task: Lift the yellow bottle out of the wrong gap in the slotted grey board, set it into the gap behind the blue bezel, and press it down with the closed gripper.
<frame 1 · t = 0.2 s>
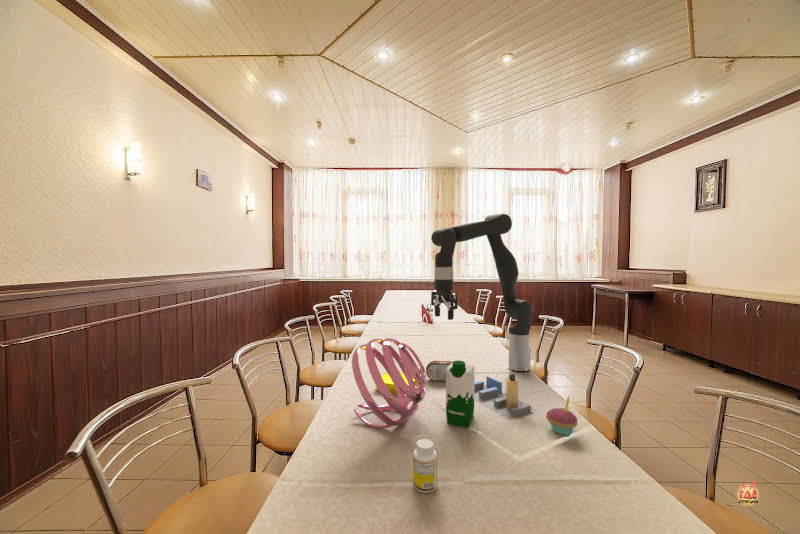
hand: (443, 317, 134), 29 cm above the table, tool pointing down, fingers open, 8 cm apart
supplement bottle: (425, 486, 77), on the table
milk carton: (460, 421, 108), on the table
cupcake: (561, 433, 100), on the table
tin: (443, 381, 143), on the table
slotted grey board: (495, 402, 121), on the table
element tile: (398, 387, 137), on the table
yellow bottle: (512, 408, 114), point 1 cm above the table, touching slotted grey board
spiral basket: (389, 420, 109), on the table
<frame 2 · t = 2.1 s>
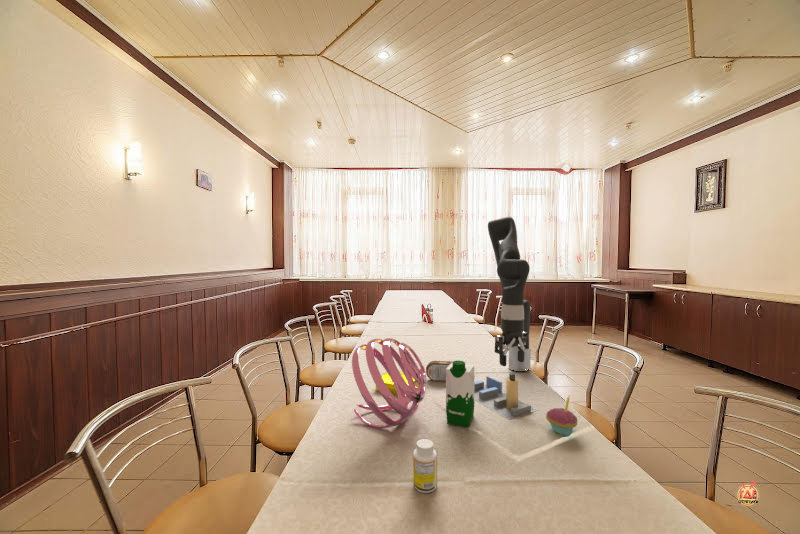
hand: (512, 363, 114), 17 cm above the table, tool pointing down, fingers open, 8 cm apart
nothing on the table moved.
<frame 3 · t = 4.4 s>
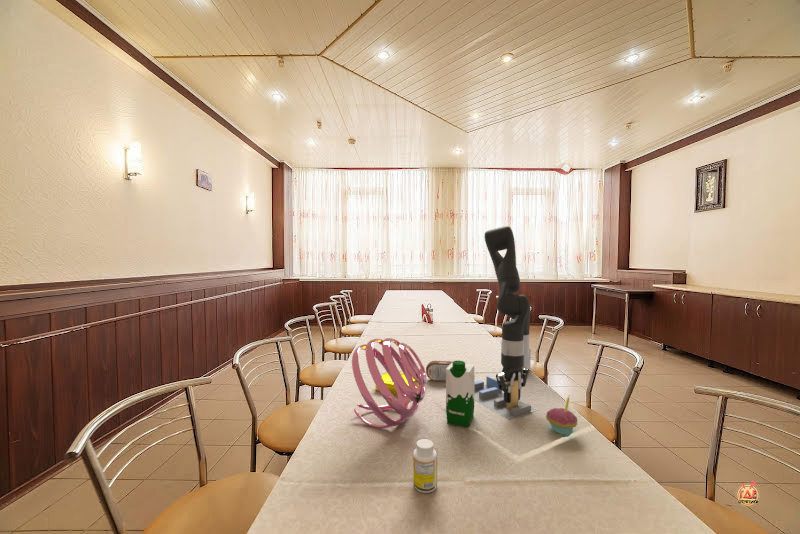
hand: (512, 400, 114), 4 cm above the table, tool pointing down, fingers closed on yellow bottle, 4 cm apart
yellow bottle: (512, 408, 114), point 1 cm above the table, touching slotted grey board, gripper
everything else where it was.
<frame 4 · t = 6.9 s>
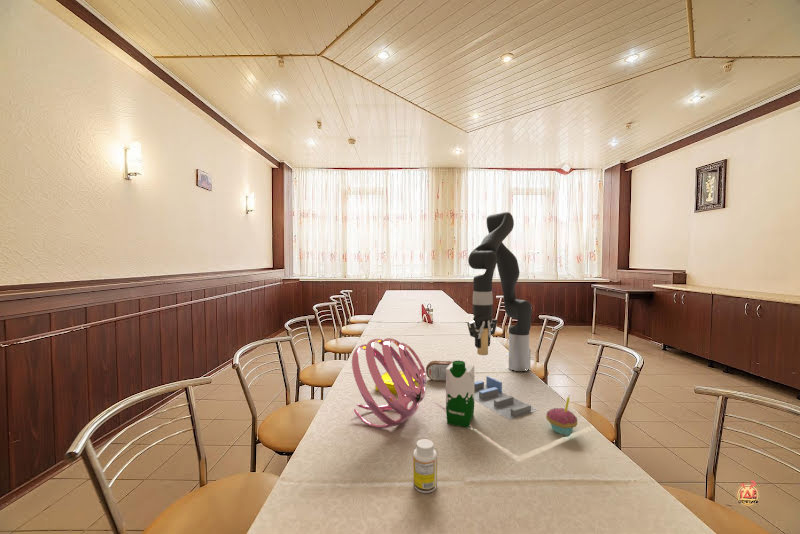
hand: (482, 346, 127), 19 cm above the table, tool pointing down, fingers closed on yellow bottle, 4 cm apart
yellow bottle: (482, 353, 127), point 16 cm above the table, touching gripper
everything else where it was.
when the fingers open (5 cm above the table, at t = 9.9 s): yellow bottle drops 1 cm, resting on slotted grey board.
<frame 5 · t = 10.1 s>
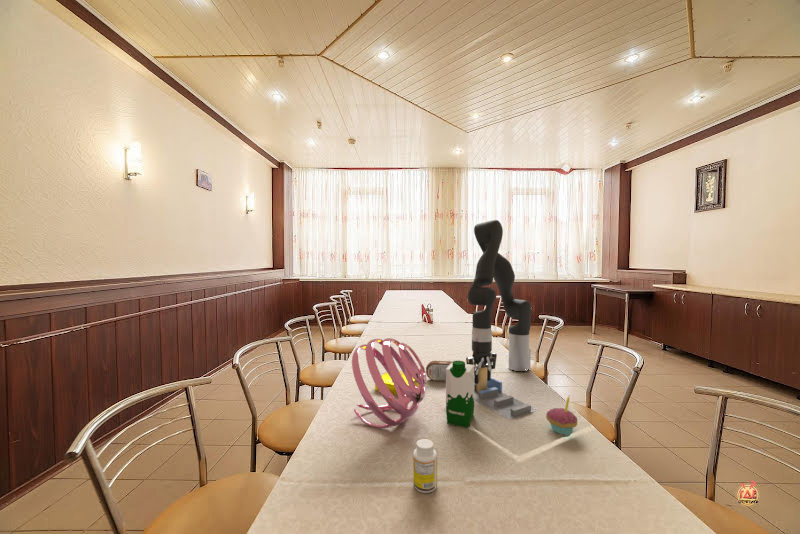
hand: (481, 381, 128), 5 cm above the table, tool pointing down, fingers open, 5 cm apart
yellow bottle: (481, 392, 128), point 1 cm above the table, touching slotted grey board
everything else where it was.
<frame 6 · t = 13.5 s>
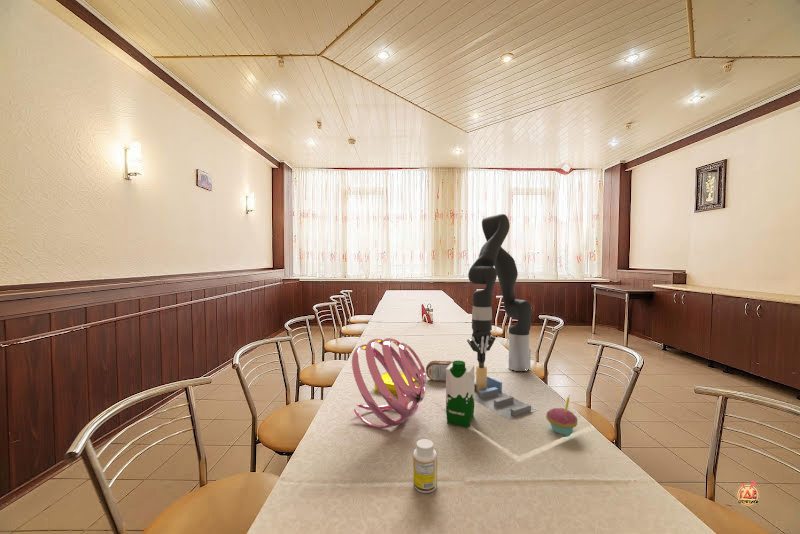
hand: (481, 362, 127), 13 cm above the table, tool pointing down, fingers closed
yellow bottle: (481, 392, 128), point 1 cm above the table, touching slotted grey board, gripper
everything else where it was.
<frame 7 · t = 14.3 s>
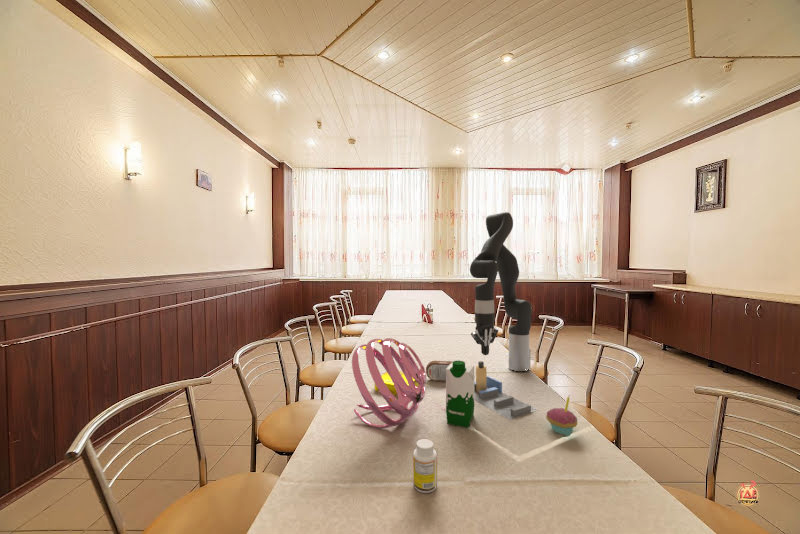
hand: (485, 354, 130), 15 cm above the table, tool pointing down, fingers closed
yellow bottle: (481, 392, 128), point 1 cm above the table, touching slotted grey board
everything else where it was.
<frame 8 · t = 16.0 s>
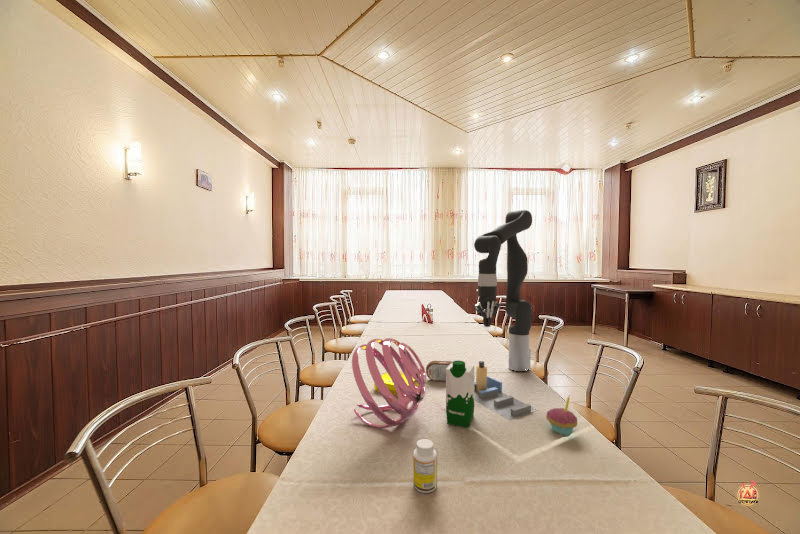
hand: (487, 326, 136), 25 cm above the table, tool pointing down, fingers closed
nothing on the table moved.
at the end: yellow bottle 0.0 cm from the target spot on the slotted grey board, point 1.0 cm above the slotted grey board's base; yellow bottle tilted 0°; the gripper is holding nothing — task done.
